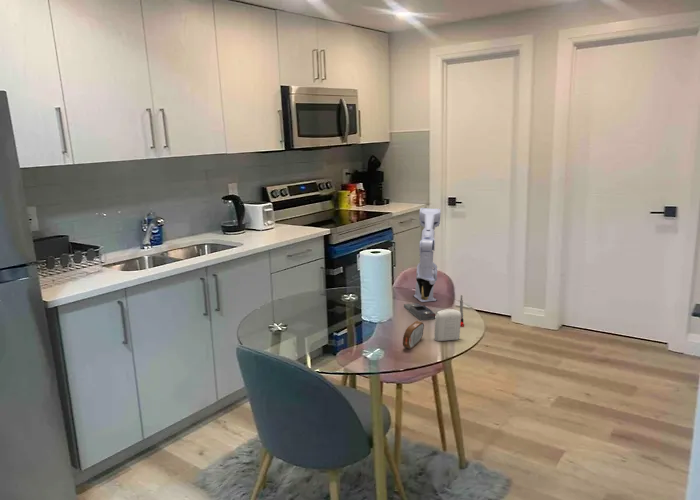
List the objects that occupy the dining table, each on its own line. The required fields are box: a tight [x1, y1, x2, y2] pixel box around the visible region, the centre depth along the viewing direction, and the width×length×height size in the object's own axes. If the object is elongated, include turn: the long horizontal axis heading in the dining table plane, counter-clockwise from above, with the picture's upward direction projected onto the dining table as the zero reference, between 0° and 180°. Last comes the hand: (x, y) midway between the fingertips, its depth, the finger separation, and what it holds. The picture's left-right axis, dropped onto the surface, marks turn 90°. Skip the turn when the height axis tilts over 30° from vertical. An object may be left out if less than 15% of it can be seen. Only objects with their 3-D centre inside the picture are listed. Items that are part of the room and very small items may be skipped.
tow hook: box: [459, 294, 465, 328], centre depth 227 cm, size 8×13×9 cm
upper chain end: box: [410, 304, 436, 321], centre depth 237 cm, size 11×7×3 cm, turn 18°
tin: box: [402, 320, 425, 350], centre depth 206 cm, size 15×3×8 cm, turn 150°
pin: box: [421, 286, 428, 300], centre depth 238 cm, size 3×3×6 cm
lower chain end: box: [403, 302, 423, 317], centre depth 243 cm, size 13×7×2 cm, turn 18°
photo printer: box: [433, 308, 461, 342], centre depth 211 cm, size 10×4×12 cm, turn 103°
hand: (424, 295), depth 238 cm, fingers closed on pin, 3 cm apart
